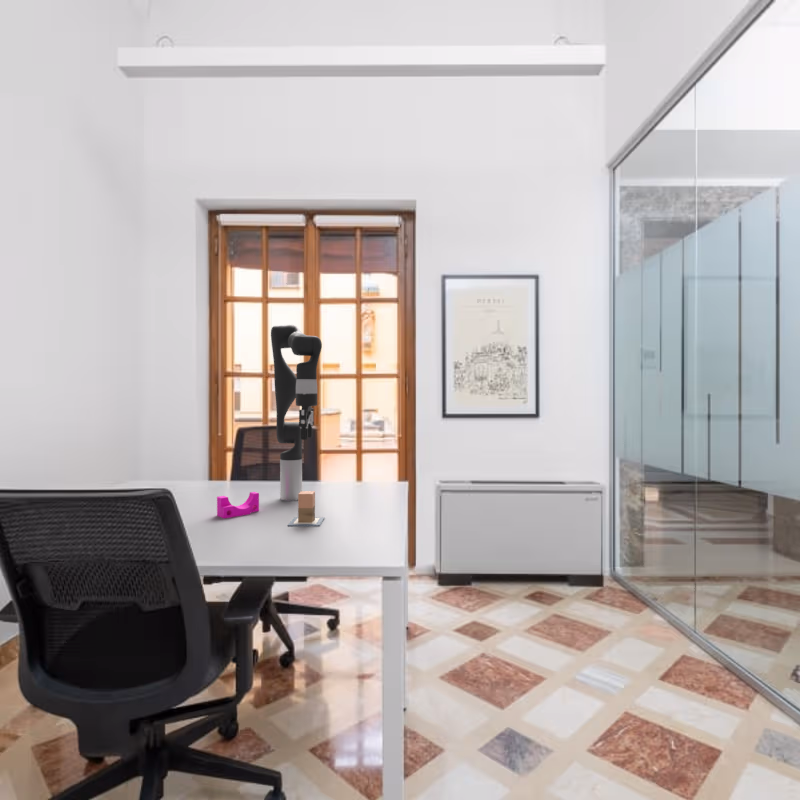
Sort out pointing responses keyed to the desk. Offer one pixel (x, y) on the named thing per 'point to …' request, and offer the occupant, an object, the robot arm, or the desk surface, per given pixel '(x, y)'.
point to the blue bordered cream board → (315, 523)
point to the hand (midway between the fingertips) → (306, 438)
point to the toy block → (232, 511)
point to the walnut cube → (306, 514)
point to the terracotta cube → (306, 499)
